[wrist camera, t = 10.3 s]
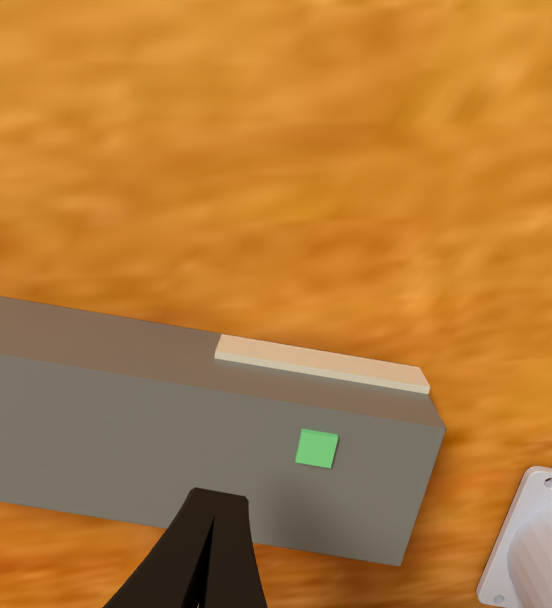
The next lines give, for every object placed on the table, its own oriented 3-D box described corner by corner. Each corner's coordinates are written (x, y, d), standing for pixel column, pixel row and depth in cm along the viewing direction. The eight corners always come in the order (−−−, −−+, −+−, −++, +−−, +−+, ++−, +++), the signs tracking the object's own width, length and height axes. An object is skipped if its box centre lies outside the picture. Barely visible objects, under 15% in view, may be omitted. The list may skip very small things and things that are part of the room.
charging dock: (415, 359, 19) (450, 424, 15) (379, 482, 21) (401, 571, 17) (-66, 278, 19) (-177, 319, 15) (-55, 410, 21) (-150, 481, 17)
